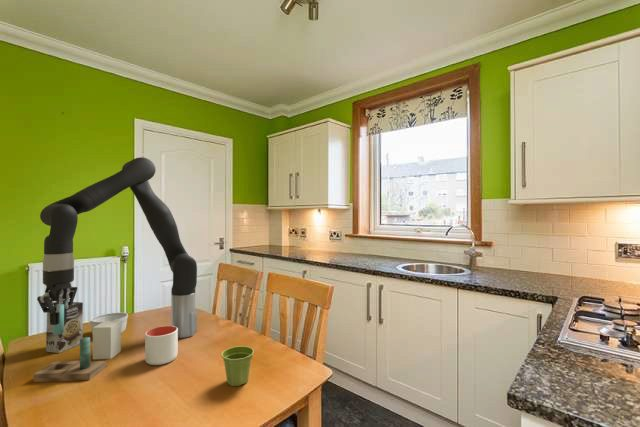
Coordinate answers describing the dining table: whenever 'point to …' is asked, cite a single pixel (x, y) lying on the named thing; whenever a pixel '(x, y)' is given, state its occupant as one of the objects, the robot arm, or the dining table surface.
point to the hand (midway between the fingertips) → (58, 322)
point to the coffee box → (66, 330)
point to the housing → (106, 340)
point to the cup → (161, 345)
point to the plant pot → (237, 364)
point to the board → (86, 372)
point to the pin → (59, 327)
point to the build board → (54, 371)
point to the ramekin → (110, 319)
